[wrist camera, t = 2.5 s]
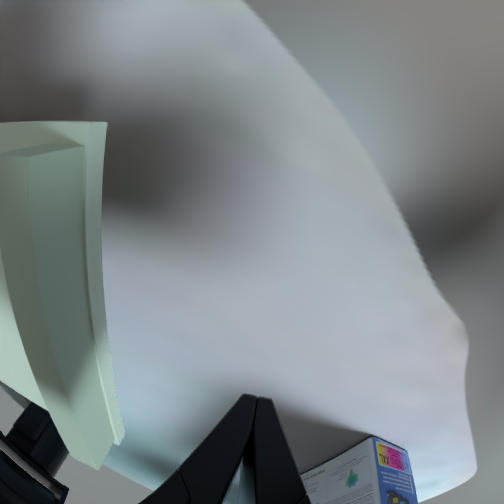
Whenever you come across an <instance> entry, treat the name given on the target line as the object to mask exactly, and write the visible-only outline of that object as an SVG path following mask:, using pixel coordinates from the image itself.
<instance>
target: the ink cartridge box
mask: <svg viewBox="0 0 504 504" xmlns="http://www.w3.org/2000/svg"><path fill="white" fill-rule="evenodd" d="M301 478H302V481H303V483H304V486H305V488H306V491H307V494H306V495H308V496H309V498H310V501H311V503H312V504H418V501H417V495H416V490H415V485H414V480H413V475H412V470H411V466H410V461H409V457H408V452H407V451H405V450H403V449H400V448H398V447H396V446H394V445H391V444H389V443H387V442H385V441H383V440H381V439H378V438H376V437H371V438H368V439H366V440H365V441H363V442H362V443H360V444H358V445H357V446H355V447H353V448H352V449H350V450H348V451H346V452H345V453H343V454H341V455H339V456H338V457H336V458H334V459H332V460H330V461H328V462H326V463H324V464H323V465H321V466H319V467H316V468H314V469H312V470H310V471H308V472H306V473H304V474H302V475H301Z"/></svg>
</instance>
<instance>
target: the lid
mask: <svg viewBox="0 0 504 504" xmlns="http://www.w3.org/2000/svg"><path fill="white" fill-rule="evenodd" d="M106 131H107V122H98V121H23V122H4V123H0V381H2V382H3V383H5V384H6V385H7V386H9V387H10V388H12V389H13V390H15V391H16V392H18V393H19V394H21V395H23V396H24V397H26V398H27V399H29V400H30V401H32V402H34V403H35V404H37V405H39V406H40V407H42V408H44V409H46V410H47V411H49V413H50V416H51V418H52V420H53V422H54V424H55V426H56V428H57V430H58V432H59V434H60V436H61V438H62V440H63V442H64V443H65V445H66V447H67V449H68V451H69V453H70V454H71V456H72V457H73V458H75V459H77V460H78V461H80V462H83V463H84V464H86V465H88V466H91V467H93V468H95V469H97V470H99V469H100V467H101V465H102V463H103V461H104V459H105V457H106V456H107V454H108V452H109V450H110V448H111V446H112V445H113V443H114V444H116V445H120V443H121V441H122V439H123V438H124V436H125V431H124V426H123V422H122V417H121V413H120V408H119V403H118V398H117V393H116V387H115V382H114V376H113V369H112V363H111V356H110V349H109V341H108V333H107V324H106V314H105V303H104V289H103V272H102V241H101V212H102V182H103V165H104V152H105V140H106Z"/></svg>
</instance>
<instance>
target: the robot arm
mask: <svg viewBox="0 0 504 504" xmlns="http://www.w3.org/2000/svg"><path fill="white" fill-rule="evenodd" d="M25 398H26V397H25ZM26 400H27V403H28V406H27V407H26V409H25V410H24V411H23V412H22V414H21V415H20V416H19V418H18V419H17V420H16V421H15V423H14V424H13V427H12V429H11V430H10V431H9V433H8V434H7V435H6V437H5V436H4V435H3V434H2V432H1V431H0V448H1V449H2V450H3V451H4V452H6V453H7V454H8V455H9V456H10V457H11V458H12V459H13V460H14V461H15V462H17V463H18V464H19V465H20V466H21V467H22V468H24V469H25V470H26V471H27V472H28V473H30V474H31V475H32V476H33V477H35V478H36V479H37V480H38V481H40V482H41V483H42V484H44V485H45V486H46V487H48V488H49V489H48V488H46V487H45V486H44V485H42V484H41V483H40V482H38V481H37V480H36V479H35V478H33V477H32V476H31V475H30V474H28V473H27V472H26V471H25V470H24V469H22V468H21V467H20V466H19V465H18V464H16V463H15V462H14V461H13V460H12V459H11V458H10V457H9V456H8V455H7V454H5V453H4V452H3V451H2V450H1V449H0V504H64V502H65V499H66V497H67V494H68V491H69V488H68V487H66V486H65V485H62V484H61V483H60V482H58V481H57V480H55V479H54V477H55V475H56V474H57V472H58V470H59V469H60V467H61V465H62V464H63V462H64V460H65V459H66V457H67V455H68V454H69V451H68V449H67V447H66V445H65V443H64V442H63V440H62V438H61V436H60V434H59V432H58V430H57V428H56V426H55V424H54V422H53V420H52V418H51V416H50V413H49V411H47V410H46V409H44V408H42V407H40V406H39V405H37V404H35V403H34V402H32V401H30V400H29V399H27V398H26ZM241 460H242V463H241ZM240 463H241V472H240V484H239V496H238V504H312V503H311V501H310V498H309V496H308V495H306V494H307V491H306V488H305V486H304V483H303V481H302V478H301V475H300V473H299V470H298V468H297V465H296V462H295V460H294V457H293V455H292V452H291V449H290V447H289V444H288V441H287V439H286V436H285V433H284V431H283V428H282V425H281V422H280V420H279V417H278V414H277V412H276V409H275V406H274V403H273V401H272V399H270V398H265V397H258V398H257V396H255V395H251V394H246V393H244V394H242V395H241V397H240V398H239V399H238V400H237V401H236V403H235V404H234V405H233V406H232V407H231V409H230V410H229V411H228V412H227V413H226V415H225V416H224V417H223V418H222V419H221V421H220V422H219V423H218V424H217V425H216V426H215V427H214V429H213V430H212V431H211V432H210V433H209V434H208V436H207V437H206V438H205V439H204V440H203V441H202V442H201V443H200V445H199V446H198V447H197V448H196V449H195V450H194V451H193V452H192V453H191V455H190V456H189V457H188V458H187V459H186V460H185V461H184V462H183V463H182V464H181V465H180V467H179V468H178V470H176V471H175V472H174V473H173V474H172V475H171V476H170V477H169V478H168V479H167V480H166V481H165V482H164V483H163V484H162V485H161V486H160V487H159V488H157V489H156V490H155V491H154V492H153V493H152V494H150V495H149V496H148V497H146V498H145V499H144V500H143V501H141V502H140V503H138V504H224V502H225V500H226V498H227V495H228V493H229V490H230V488H231V485H232V483H233V481H234V478H235V476H236V473H237V471H238V468H239V465H240Z"/></svg>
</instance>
